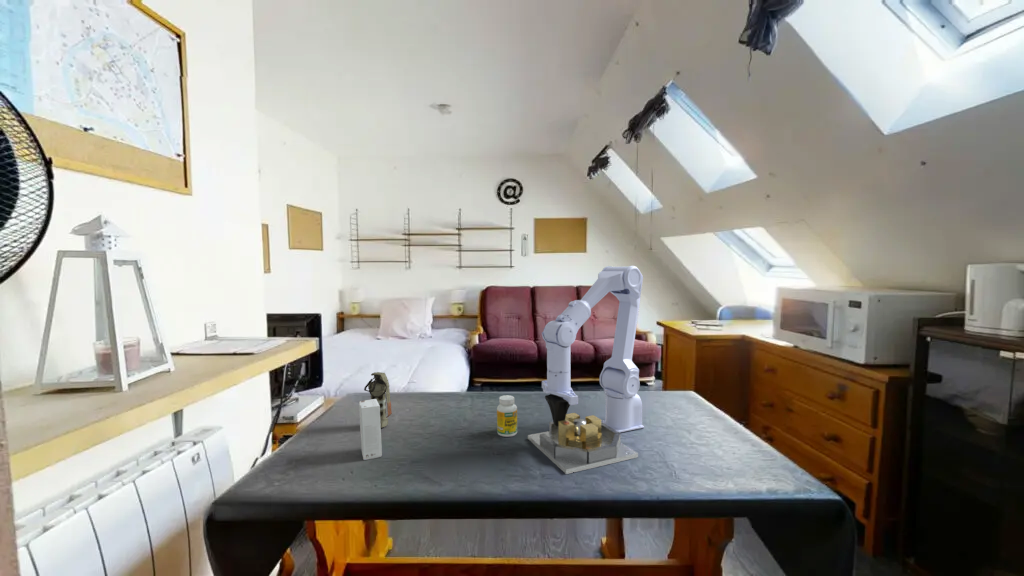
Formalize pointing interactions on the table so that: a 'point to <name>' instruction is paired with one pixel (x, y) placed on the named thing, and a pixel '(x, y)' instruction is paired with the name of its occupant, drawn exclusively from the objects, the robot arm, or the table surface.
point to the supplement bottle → (506, 416)
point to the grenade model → (380, 395)
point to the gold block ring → (588, 432)
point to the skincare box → (370, 429)
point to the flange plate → (579, 465)
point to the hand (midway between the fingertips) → (558, 424)
